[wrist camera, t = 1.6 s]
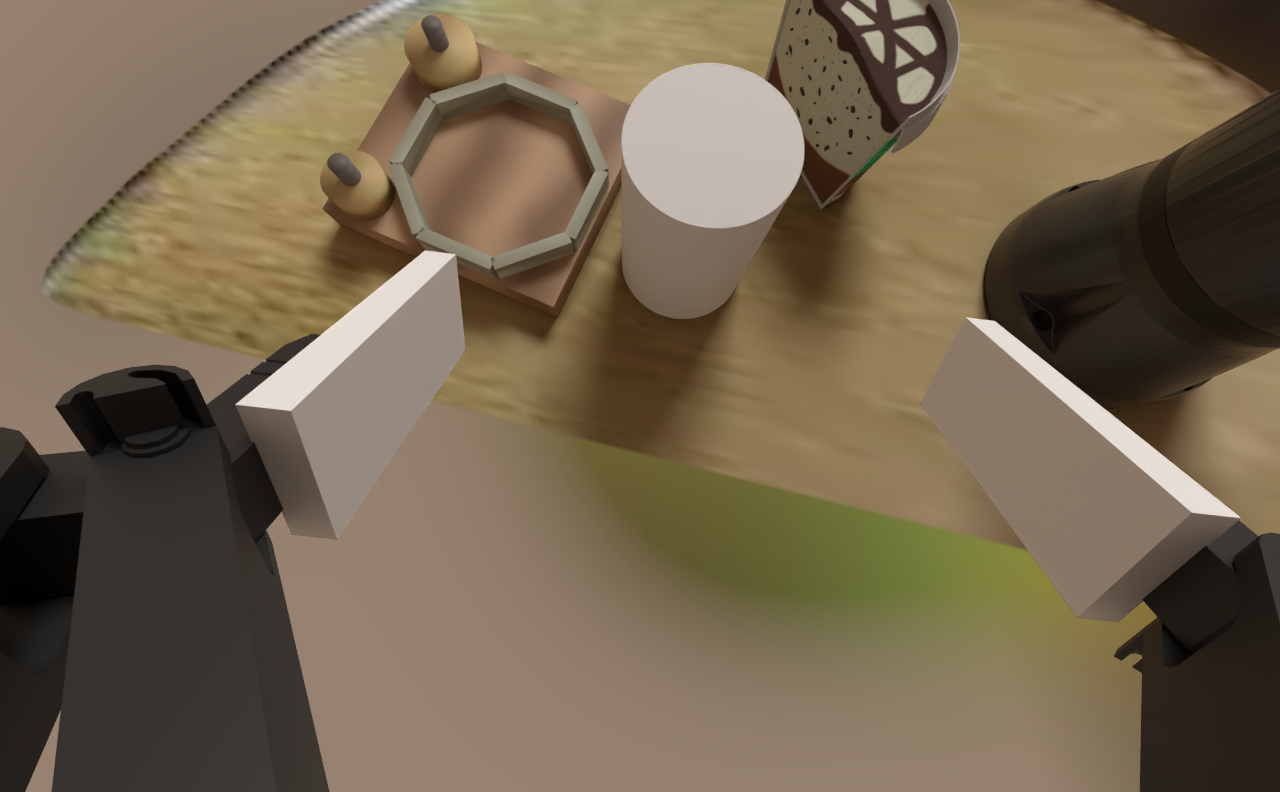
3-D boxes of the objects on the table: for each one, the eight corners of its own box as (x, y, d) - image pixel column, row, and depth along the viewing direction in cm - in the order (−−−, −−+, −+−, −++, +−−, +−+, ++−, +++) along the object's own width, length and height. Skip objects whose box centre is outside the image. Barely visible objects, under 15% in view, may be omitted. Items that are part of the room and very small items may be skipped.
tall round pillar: (760, 239, 34) (833, 111, 22) (708, 339, 33) (757, 260, 21) (655, 187, 35) (672, 34, 23) (600, 284, 33) (588, 176, 21)
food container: (905, 194, 35) (1016, 82, 25) (831, 228, 34) (915, 126, 25) (821, 56, 37) (894, -99, 27) (749, 86, 36) (797, -62, 26)
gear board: (646, 132, 35) (650, 73, 30) (557, 317, 33) (545, 286, 28) (443, 49, 36) (413, -23, 31) (340, 224, 33) (288, 178, 28)
